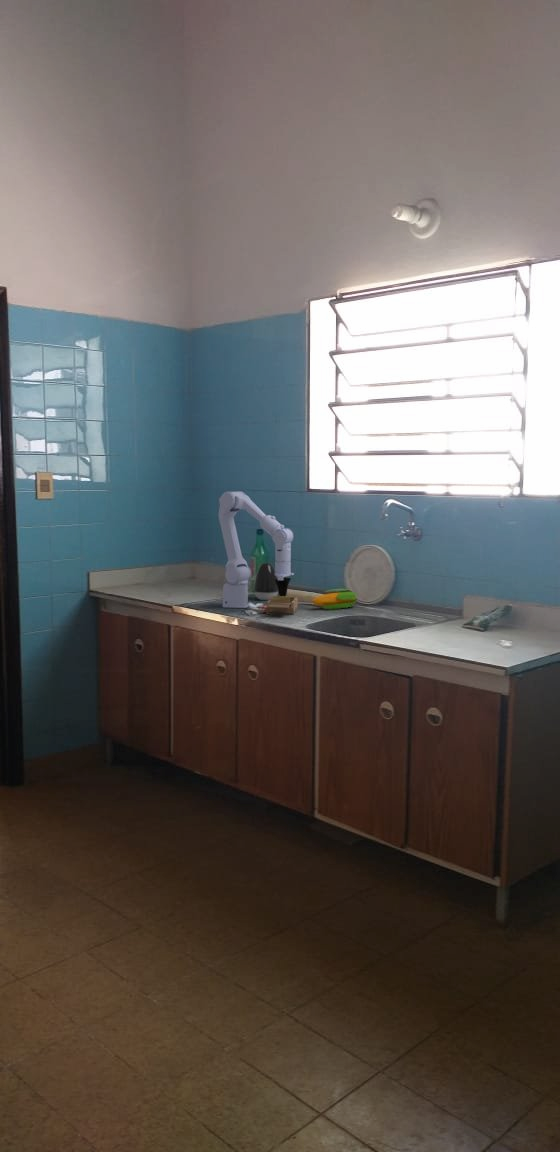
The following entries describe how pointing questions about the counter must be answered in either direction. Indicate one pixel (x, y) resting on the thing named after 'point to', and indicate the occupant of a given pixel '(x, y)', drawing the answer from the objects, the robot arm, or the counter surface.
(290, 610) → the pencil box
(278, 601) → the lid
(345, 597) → the corn
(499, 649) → the counter surface
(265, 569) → the dark grey egg shape
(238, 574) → the robot arm
